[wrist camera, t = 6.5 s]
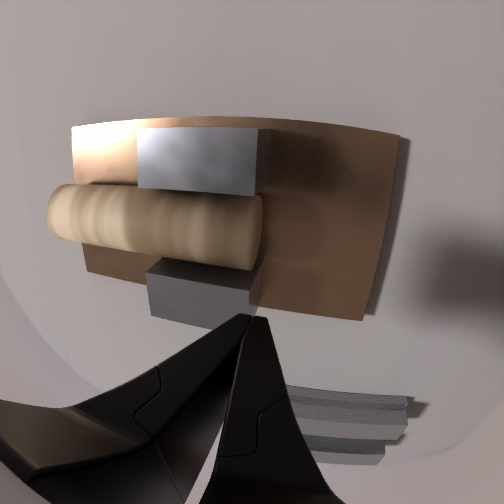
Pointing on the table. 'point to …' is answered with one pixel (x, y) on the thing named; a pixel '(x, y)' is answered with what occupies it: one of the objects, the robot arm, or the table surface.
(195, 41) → the table surface
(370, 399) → the v block
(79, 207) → the wooden axle
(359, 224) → the brown board with blocks
